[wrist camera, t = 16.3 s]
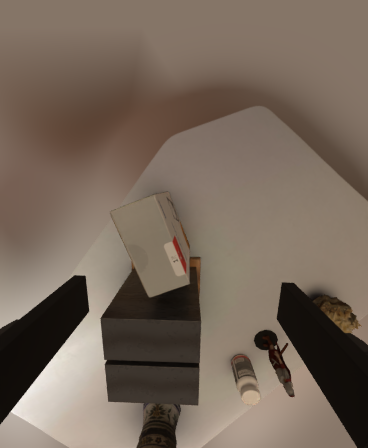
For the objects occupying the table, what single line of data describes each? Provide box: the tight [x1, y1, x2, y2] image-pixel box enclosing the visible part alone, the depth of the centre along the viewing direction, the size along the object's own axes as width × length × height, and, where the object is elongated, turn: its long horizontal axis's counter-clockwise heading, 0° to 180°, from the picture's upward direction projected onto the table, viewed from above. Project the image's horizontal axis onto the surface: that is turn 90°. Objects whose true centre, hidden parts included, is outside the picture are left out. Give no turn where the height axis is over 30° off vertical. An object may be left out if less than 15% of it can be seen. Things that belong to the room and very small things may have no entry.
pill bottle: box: [231, 355, 261, 405], centre depth 52 cm, size 6×6×10 cm
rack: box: [101, 257, 201, 405], centre depth 42 cm, size 21×18×22 cm
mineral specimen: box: [313, 295, 361, 333], centre depth 48 cm, size 14×13×10 cm
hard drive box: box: [110, 192, 190, 297], centre depth 39 cm, size 16×8×20 cm, turn 21°
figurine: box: [254, 330, 294, 397], centre depth 48 cm, size 7×7×15 cm
